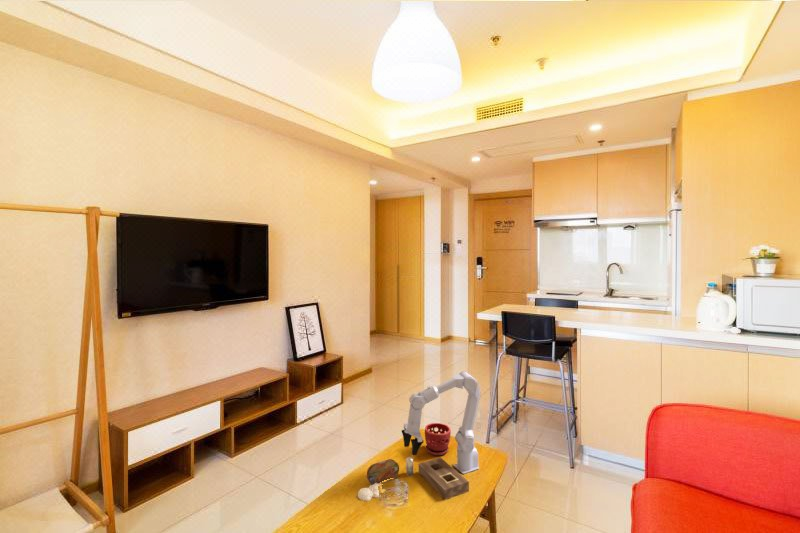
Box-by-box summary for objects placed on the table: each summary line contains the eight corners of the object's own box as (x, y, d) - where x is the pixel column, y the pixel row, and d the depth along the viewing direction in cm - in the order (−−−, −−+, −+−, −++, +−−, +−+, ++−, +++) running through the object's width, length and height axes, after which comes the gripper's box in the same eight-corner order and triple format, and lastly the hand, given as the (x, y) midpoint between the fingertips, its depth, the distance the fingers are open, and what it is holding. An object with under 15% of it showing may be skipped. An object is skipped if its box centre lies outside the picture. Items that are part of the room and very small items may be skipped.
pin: (411, 471, 172) (411, 456, 172) (414, 474, 169) (414, 459, 169) (405, 473, 171) (404, 457, 171) (408, 476, 168) (408, 461, 168)
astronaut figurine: (388, 496, 155) (388, 489, 155) (360, 504, 150) (360, 496, 150) (381, 484, 163) (381, 477, 163) (355, 491, 158) (354, 484, 158)
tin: (368, 487, 160) (368, 468, 160) (365, 483, 163) (365, 464, 163) (399, 477, 167) (399, 459, 167) (396, 474, 170) (396, 456, 170)
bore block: (440, 465, 176) (440, 456, 176) (468, 491, 156) (468, 481, 156) (418, 472, 171) (418, 463, 171) (444, 499, 151) (444, 489, 151)
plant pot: (432, 460, 181) (431, 435, 181) (420, 447, 193) (420, 424, 193) (455, 454, 186) (455, 430, 186) (443, 442, 198) (442, 420, 198)
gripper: (399, 414, 174) (395, 443, 174) (414, 428, 161) (410, 459, 161) (412, 414, 177) (408, 442, 177) (428, 427, 164) (424, 457, 164)
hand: (410, 450), depth 169 cm, fingers open, 7 cm apart
